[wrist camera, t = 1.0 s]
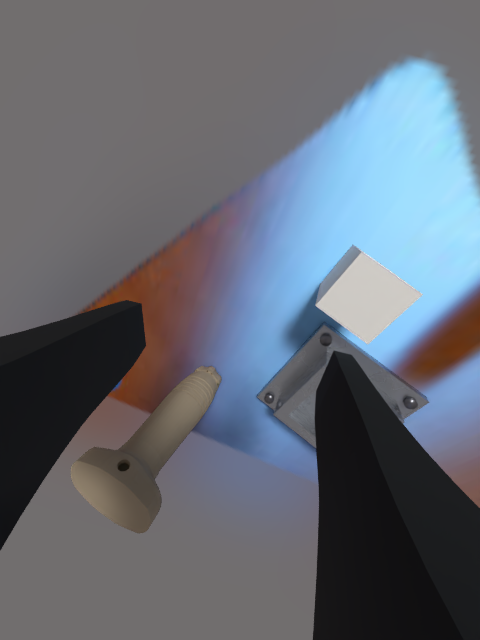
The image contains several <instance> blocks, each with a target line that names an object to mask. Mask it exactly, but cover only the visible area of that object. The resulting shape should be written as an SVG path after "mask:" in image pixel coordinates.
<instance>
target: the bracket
mask: <svg viewBox="0 0 480 640" xmlns="http://www.w3.org/2000/svg"><path fill="white" fill-rule="evenodd" d="M333 351H338V352H342V353H347V354H351V355H353V357H354V358H355V359H356V361H357V362H358V364H359V365H360V367H361V368H362V369H363V371H364V372H365V374H366V375H367V377H368V378H369V379H370V381H371V382H372V384H373V385H374V386H375V388H376V389H377V391H378V392H379V393H380V395H381V396H382V397H383V399H384V400H385V402H386V403H387V404H388V406H389V407H390V408H391V409H392V411H393V412H394V413H395V415H396V416H397V417H398V418H399V420H400V421H401V422H402V423H404V419H405V418H407V417H408V416H409V415H411V414H412V413H414V412H415V411H417V410H418V409H420V408H421V407H423V406H424V405H426V404H427V403H429V401H428V399H427V398H426V396H424V395H423V394H422V393H420V392H419V391H418V390H416V389H415V388H414V387H412V386H411V385H409V384H408V383H407V382H405V381H404V380H403V379H401V378H400V377H399V376H397V375H396V374H395V373H393V372H392V371H390V370H389V369H388V368H386V367H385V366H384V365H382V364H381V363H380V362H378V361H377V360H376V359H374V358H373V357H372V356H370V355H369V354H367V353H366V352H365V351H363V350H362V349H361V348H359V347H358V346H357V345H355V344H354V343H353V342H351V341H350V340H349V339H347V338H346V337H344V336H343V335H342V334H340V333H339V332H338V331H336V330H335V329H334V328H332V327H331V326H330V325H328V324H327V323H326V322H324V323H323V324H322V325H321V326H320V327H319V328H318V329H317V330H316V331H315V333H314V334H313V335H312V336H311V337H310V338H309V339H308V340H307V341H306V342H305V343H304V344H303V346H302V347H301V348H300V349H299V350H298V351H297V352H296V353H295V354H294V355H293V356H292V357H291V359H290V360H289V361H288V362H287V363H286V364H285V365H284V366H283V367H282V368H281V369H280V370H279V372H278V373H277V374H276V375H275V376H274V377H273V378H272V379H271V380H270V381H269V382H268V383H267V385H266V386H265V387H264V388H263V389H262V390H261V391H260V392H259V394H258V396H257V397H258V398H259V399H260V400H261V401H263V402H264V403H265V404H267V405H268V406H269V407H270V408H272V409H273V410H274V414H273V415H274V416H276V417H277V418H278V419H279V420H281V421H282V422H283V423H284V424H286V425H287V426H288V427H290V428H291V429H292V430H293V431H295V432H296V433H297V434H298V435H300V436H301V437H302V438H304V439H305V440H306V441H307V442H309V443H310V444H311V445H312V446H314V447H315V448H316V436H315V418H314V417H315V400H316V390H317V388H318V385H319V383H320V381H321V378H322V376H323V374H324V372H325V369H326V367H327V365H328V362H329V360H330V358H331V355H332V353H333Z"/></svg>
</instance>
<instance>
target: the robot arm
mask: <svg viewBox="0 0 480 640" xmlns="http://www.w3.org/2000/svg"><path fill="white" fill-rule="evenodd" d="M145 346H146V342H145V332H144V323H143V314H142V305H141V304H140V303H136V302H132V301H128V300H126V301H121V302H117V303H114V304H110V305H107V306H104V307H101V308H98V309H95V310H92V311H88V312H85V313H82V314H79V315H76V316H73V317H70V318H67V319H63V320H60V321H57V322H53V323H50V324H47V325H43V326H40V327H36V328H33V329H29V330H26V331H22V332H18V333H14V334H10V335H6V336H2V337H0V550H1V548H2V547H3V545H4V543H5V541H6V540H7V538H8V536H9V535H10V533H11V531H12V530H13V528H14V526H15V525H16V523H17V521H18V520H19V518H20V516H21V515H22V513H23V512H24V510H25V508H26V507H27V505H28V504H29V502H30V500H31V499H32V497H33V496H34V494H35V493H36V491H37V489H38V488H39V486H40V485H41V483H42V481H43V480H44V478H45V477H46V476H47V474H48V473H49V471H50V470H51V468H52V466H53V465H54V464H55V462H56V461H57V459H58V458H59V457H60V455H61V453H62V452H63V451H64V449H65V448H66V447H67V445H68V444H69V442H70V441H71V440H72V438H73V437H74V435H75V434H76V433H77V431H78V430H79V429H80V427H81V426H82V424H83V423H84V422H85V421H86V420H87V418H88V417H89V416H90V415H91V413H92V412H93V411H94V410H95V409H96V408H97V406H98V405H99V404H100V403H101V402H102V401H103V400H104V399H105V397H106V396H107V395H108V394H109V393H110V392H111V391H112V390H113V388H114V387H115V386H116V385H117V384H118V383H119V382H120V380H121V379H122V378H123V377H124V376H125V375H126V373H127V372H128V371H129V370H130V369H131V367H132V366H133V365H134V363H135V362H136V360H137V359H138V357H139V356H140V354H141V353H142V351H143V349H144V348H145ZM314 418H315V436H316V451H317V466H318V482H319V528H318V556H317V579H316V596H315V613H314V631H313V640H480V508H479V507H478V506H477V505H476V504H475V503H474V502H473V501H472V500H471V499H470V498H469V497H468V496H467V495H466V494H465V493H464V492H463V491H462V490H461V489H460V488H459V487H458V486H457V485H456V484H455V483H454V482H453V481H452V479H451V478H450V477H449V476H448V475H447V474H446V473H445V472H444V471H443V470H442V469H441V468H440V466H439V465H438V464H437V463H436V462H435V461H434V460H433V459H432V458H431V457H430V456H429V454H428V453H427V452H426V451H425V450H424V449H423V448H422V446H421V445H420V444H419V443H418V442H417V441H416V439H415V438H414V437H413V436H412V434H411V433H410V432H409V431H408V430H407V428H406V427H405V426H404V425H403V423H402V422H401V421H400V420H399V418H398V417H397V416H396V415H395V413H394V412H393V411H392V409H391V408H390V407H389V406H388V404H387V403H386V402H385V400H384V399H383V397H382V396H381V395H380V393H379V392H378V391H377V389H376V388H375V386H374V385H373V384H372V382H371V381H370V379H369V378H368V377H367V375H366V374H365V372H364V371H363V369H362V368H361V367H360V365H359V364H358V362H357V361H356V359H355V358H354V357H353V355H351V354H347V353H342V352H338V351H333V353H332V355H331V358H330V360H329V362H328V365H327V367H326V369H325V372H324V374H323V376H322V378H321V381H320V383H319V385H318V388H317V390H316V400H315V417H314Z"/></svg>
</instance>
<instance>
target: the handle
mask: <svg viewBox="0 0 480 640" xmlns="http://www.w3.org/2000/svg"><path fill="white" fill-rule="evenodd" d="M220 382H221V376H220V375H219V374H218V373H217V372H216V370H215V368H214V367H212V366H210V367H204V366H201V367H199V368H197V369H196V370H195V371H194V373H192V374H191V375H189V376H188V377H186V378H185V379H184V380H183V381H182V382H180V383H179V384H178V385H177V386H176V387H175V388H174V389H173V390H172V391H171V392H170V393H169V394H168V395H167V396H166V398H165V399H164V400H163V401H162V402H161V403H160V405H159V406H158V407H157V408H156V409H155V411H154V412H153V413H152V414H151V415H150V416H149V418H148V419H147V420H146V421H145V422H144V423H143V425H142V426H141V427H140V428H139V429H138V430H137V431H136V432H135V434H134V435H133V436H132V437H131V438H130V439H129V440H128V442H126V443H125V444H124V445H123V446H122V447H121V448H119V449H118V450H111V449H106V448H99V447H93V448H92V449H90V450H88V451H87V452H86V453H85V454H83V455H82V456H81V457H80V458H79V459H78V460H77V461H76V462H75V463H73V465H72V468H71V477H72V481H73V484H74V486H75V488H76V489H77V490H78V491H79V492H80V493H81V495H82V496H83V497H84V498H85V499H86V500H87V501H88V502H89V503H90V504H91V505H92V506H93V507H94V508H95V509H96V510H98V511H99V512H100V513H102V514H103V515H104V516H106V517H107V518H109V519H110V520H111V521H113V522H114V523H116V524H118V525H120V526H122V527H124V528H126V529H129V530H131V531H134V532H136V533H144V532H146V531H147V530H148V529H149V527H150V525H151V524H152V522H153V520H154V519H155V517H156V515H157V514H158V512H159V510H160V507H161V494H160V491H159V488H158V486H157V484H156V482H155V478H156V476H157V475H158V473H159V471H160V470H161V468H162V467H163V466H164V465H165V463H166V462H167V461H168V459H169V458H170V457H171V456H172V454H173V453H174V452H175V450H176V449H177V448H178V447H179V445H180V444H181V443H182V442H183V440H184V439H185V438H186V437H187V435H188V434H189V433H190V432H191V431H192V429H193V428H194V427H195V426H196V424H197V423H198V422H199V421H200V419H201V418H202V416H203V415H204V414H205V412H206V410H207V409H208V407H209V405H210V404H211V402H212V400H213V398H214V396H215V393H216V391H217V389H218V387H219V384H220Z"/></svg>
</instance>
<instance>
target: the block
mask: <svg viewBox="0 0 480 640" xmlns="http://www.w3.org/2000/svg"><path fill="white" fill-rule="evenodd" d="M422 295H423V294H421V293H420V292H419V291H417V290H416V289H414V288H413V287H412V286H410V285H409V284H408V283H406V282H405V281H404V280H402V279H401V278H400V277H398V276H397V275H395V274H394V273H393V272H391V271H390V270H388V269H387V268H386V267H384V266H383V265H381V264H380V263H378V262H377V261H376V260H374V259H373V258H371V257H370V256H369V255H367V254H366V253H364V252H363V251H361V250H360V249H359V248H357V247H356V246H354V245H352V246H351V247H350V249H349V250H348V251H347V252H346V253H345V255H344V256H343V257H342V258H341V259H340V261H339V262H338V263H337V264H336V265H335V267H334V268H333V269H332V270H331V271H330V273H329V274H328V275H327V276H326V277H325V279H324V280H323V281H322V282H321V283H320V287H319V291H318V296H317V300H316V305H315V306H316V307H318V308H319V309H320V310H322V311H323V312H324V313H326V314H327V315H329V316H330V317H331V318H333V319H334V320H335V321H337V322H338V323H339V324H341V325H342V326H343V327H345V328H346V329H348V330H349V331H350V332H352V333H353V334H354V335H356V336H357V337H358V338H360V339H361V340H362V341H364V342H365V343H367V344H369V343H370V342H371V341H372V340H373V339H374V338H376V337H377V336H378V335H379V334H380V333H381V332H382V331H383V330H384V329H385V328H387V327H388V326H389V325H390V324H391V323H392V322H393V321H394V320H395V319H396V318H398V317H399V316H400V315H401V314H402V313H403V312H404V311H405V310H406V309H407V308H409V307H410V306H411V305H412V304H413V303H414V302H415V301H416V300H417V299H418V298H420V297H421V296H422Z"/></svg>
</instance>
